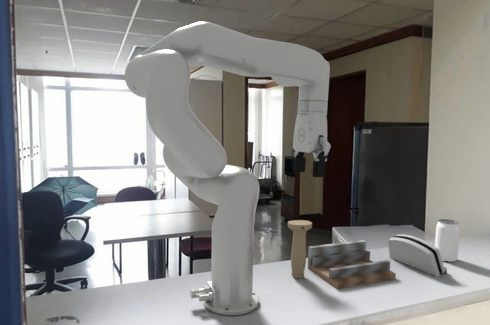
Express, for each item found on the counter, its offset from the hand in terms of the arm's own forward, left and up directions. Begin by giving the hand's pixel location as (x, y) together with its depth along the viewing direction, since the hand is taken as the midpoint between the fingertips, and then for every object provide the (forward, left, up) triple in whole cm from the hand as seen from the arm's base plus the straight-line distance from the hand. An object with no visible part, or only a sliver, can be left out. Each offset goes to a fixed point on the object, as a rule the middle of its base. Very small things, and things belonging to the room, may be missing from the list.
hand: (308, 174), depth 101 cm
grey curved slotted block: (+35, -3, -29) cm, 46 cm away
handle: (-2, +1, -28) cm, 28 cm away
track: (+13, -2, -28) cm, 31 cm away
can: (+49, -2, -28) cm, 57 cm away
